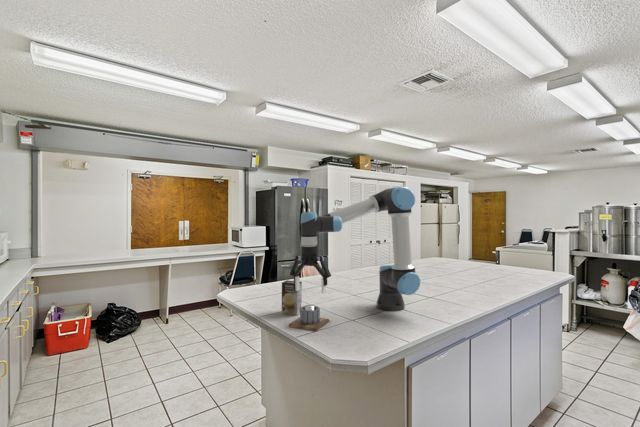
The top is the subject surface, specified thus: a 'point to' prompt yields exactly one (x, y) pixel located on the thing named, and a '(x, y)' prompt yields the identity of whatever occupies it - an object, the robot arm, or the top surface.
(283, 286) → the coffee box
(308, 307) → the post
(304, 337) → the top surface
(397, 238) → the robot arm
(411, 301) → the top surface
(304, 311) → the grey ribbed cylinder
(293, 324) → the base
